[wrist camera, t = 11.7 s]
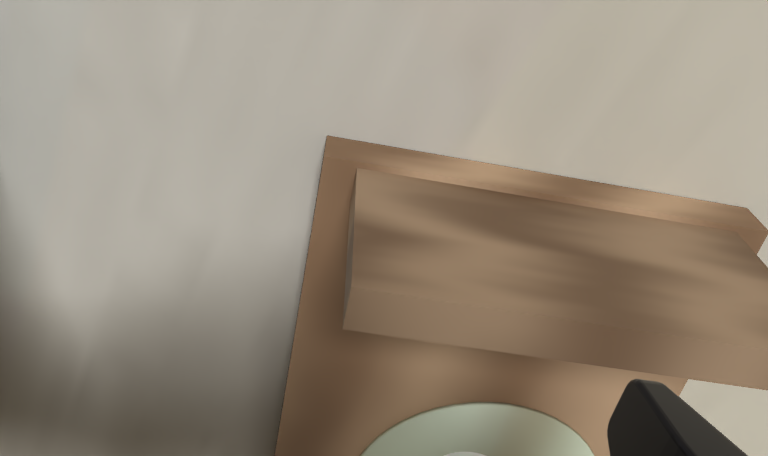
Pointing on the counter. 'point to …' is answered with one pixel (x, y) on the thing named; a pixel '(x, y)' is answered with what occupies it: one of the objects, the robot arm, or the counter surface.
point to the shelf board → (507, 306)
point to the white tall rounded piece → (464, 454)
